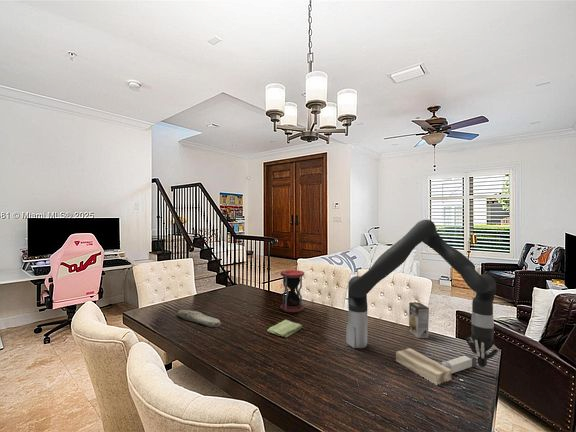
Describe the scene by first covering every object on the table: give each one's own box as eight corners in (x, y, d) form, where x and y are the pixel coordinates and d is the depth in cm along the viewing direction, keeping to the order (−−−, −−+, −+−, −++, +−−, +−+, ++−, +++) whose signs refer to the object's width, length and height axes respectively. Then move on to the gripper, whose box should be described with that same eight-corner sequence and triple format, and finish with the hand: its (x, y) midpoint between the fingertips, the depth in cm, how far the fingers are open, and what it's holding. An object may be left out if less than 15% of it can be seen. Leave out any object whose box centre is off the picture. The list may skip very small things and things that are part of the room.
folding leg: (447, 375, 114) (447, 366, 114) (439, 371, 117) (439, 362, 117) (476, 366, 121) (476, 357, 121) (467, 362, 125) (467, 353, 125)
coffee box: (408, 331, 159) (408, 302, 158) (419, 330, 159) (419, 302, 159) (417, 338, 149) (417, 307, 149) (428, 337, 150) (429, 307, 150)
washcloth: (265, 333, 155) (265, 327, 155) (285, 323, 169) (285, 318, 169) (284, 339, 147) (284, 333, 147) (303, 329, 161) (303, 323, 161)
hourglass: (289, 303, 207) (289, 268, 206) (308, 307, 197) (308, 271, 197) (275, 309, 193) (275, 272, 193) (295, 314, 184) (295, 275, 184)
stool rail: (436, 385, 108) (436, 374, 108) (395, 360, 126) (395, 351, 126) (451, 380, 111) (451, 369, 111) (409, 356, 129) (409, 348, 129)
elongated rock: (212, 332, 158) (224, 327, 166) (212, 322, 158) (225, 318, 167) (172, 316, 177) (186, 312, 185) (173, 307, 177) (186, 304, 185)
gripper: (460, 319, 121) (460, 360, 121) (494, 331, 109) (494, 376, 109) (471, 317, 124) (471, 357, 124) (505, 328, 112) (505, 372, 112)
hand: (482, 366), depth 116 cm, fingers closed
